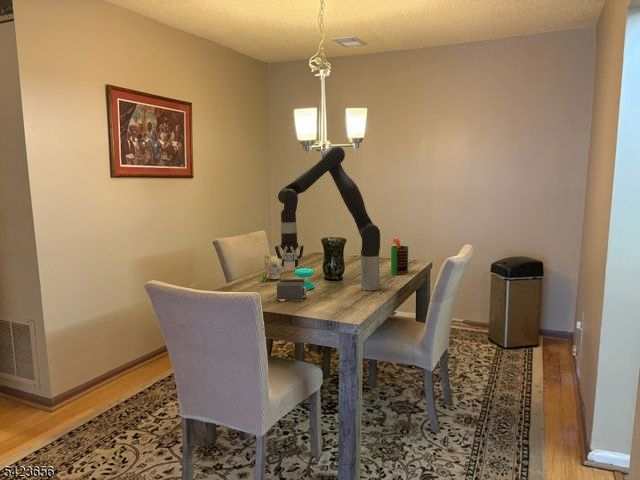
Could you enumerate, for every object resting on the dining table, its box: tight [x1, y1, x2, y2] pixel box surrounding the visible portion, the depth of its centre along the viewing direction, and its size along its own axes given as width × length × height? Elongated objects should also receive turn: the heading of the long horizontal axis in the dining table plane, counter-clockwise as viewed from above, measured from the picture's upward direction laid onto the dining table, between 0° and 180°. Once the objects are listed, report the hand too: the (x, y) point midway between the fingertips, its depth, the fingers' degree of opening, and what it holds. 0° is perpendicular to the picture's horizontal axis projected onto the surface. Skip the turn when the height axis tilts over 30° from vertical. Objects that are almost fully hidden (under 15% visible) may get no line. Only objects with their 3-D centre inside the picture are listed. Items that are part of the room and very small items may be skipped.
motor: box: [390, 238, 409, 276], centre depth 267 cm, size 10×9×20 cm
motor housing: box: [276, 278, 308, 300], centre depth 221 cm, size 13×10×8 cm
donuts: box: [293, 267, 315, 291], centre depth 239 cm, size 10×10×10 cm
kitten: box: [261, 254, 284, 281], centre depth 261 cm, size 15×10×15 cm, turn 129°
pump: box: [283, 253, 297, 271], centre depth 219 cm, size 5×5×7 cm
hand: (290, 267), depth 220 cm, fingers closed on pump, 5 cm apart
